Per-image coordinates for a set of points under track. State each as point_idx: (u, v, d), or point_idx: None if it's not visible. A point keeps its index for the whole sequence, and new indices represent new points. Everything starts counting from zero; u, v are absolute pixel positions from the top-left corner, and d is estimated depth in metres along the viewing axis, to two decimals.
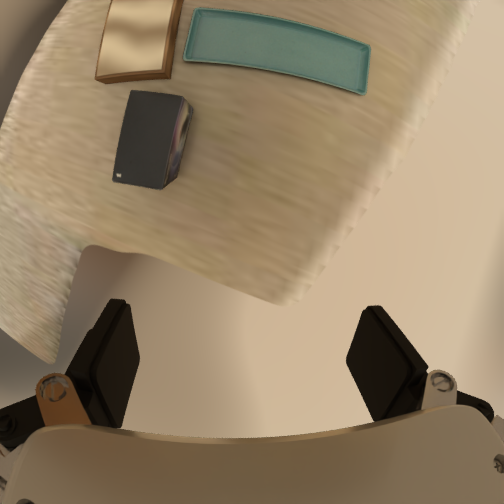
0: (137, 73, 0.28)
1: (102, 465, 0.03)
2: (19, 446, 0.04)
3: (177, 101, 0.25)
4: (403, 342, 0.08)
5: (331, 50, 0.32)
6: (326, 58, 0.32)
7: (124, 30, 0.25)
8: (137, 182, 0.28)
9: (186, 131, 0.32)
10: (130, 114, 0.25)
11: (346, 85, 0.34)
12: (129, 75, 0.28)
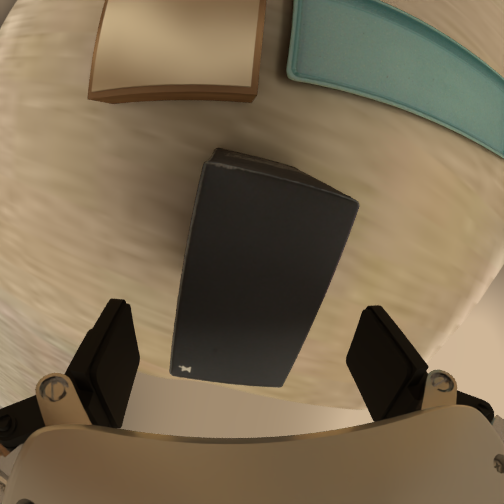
0: (189, 89, 0.13)
1: (102, 465, 0.03)
2: (19, 446, 0.04)
3: (345, 215, 0.10)
4: (403, 342, 0.08)
5: (482, 90, 0.16)
6: (478, 102, 0.17)
7: None
8: (230, 380, 0.13)
9: None
10: (209, 241, 0.10)
11: (494, 146, 0.19)
12: (169, 92, 0.13)
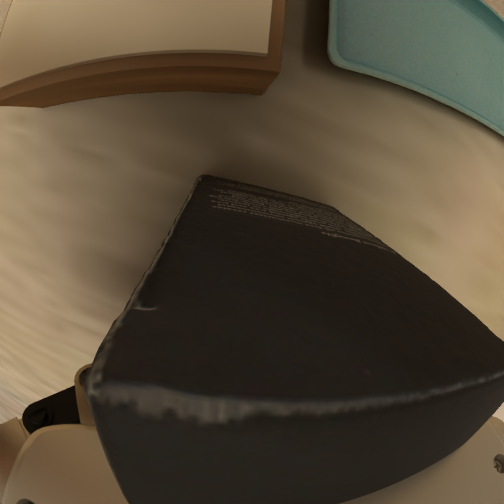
0: (140, 64, 0.06)
1: (102, 465, 0.03)
2: None
3: (501, 401, 0.03)
4: None
5: None
6: None
7: None
8: None
9: None
10: None
11: None
12: (104, 75, 0.06)
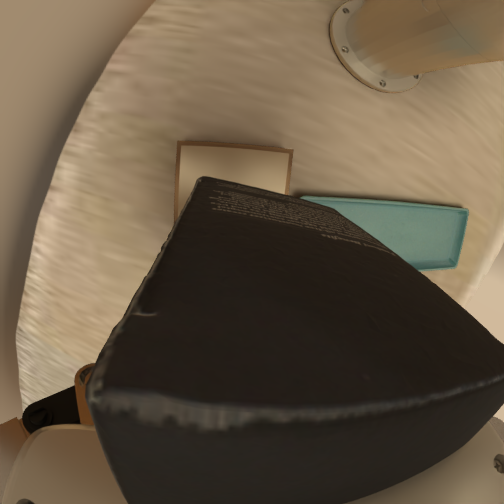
0: None
1: (102, 465, 0.03)
2: None
3: (500, 403, 0.03)
4: None
5: (434, 222, 0.32)
6: (429, 234, 0.32)
7: None
8: None
9: None
10: None
11: (441, 258, 0.34)
12: None
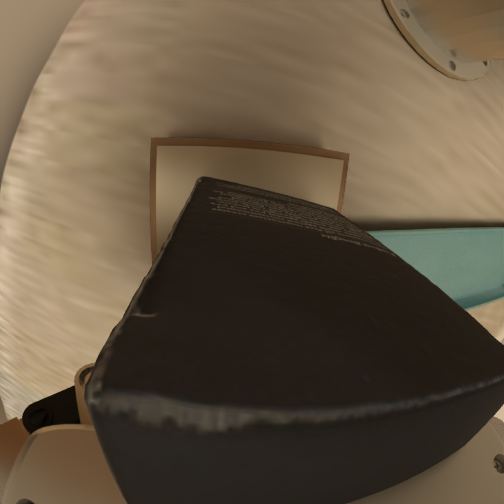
0: None
1: (102, 465, 0.03)
2: None
3: (500, 404, 0.03)
4: None
5: (494, 246, 0.21)
6: (487, 261, 0.22)
7: None
8: None
9: None
10: None
11: (495, 286, 0.24)
12: None
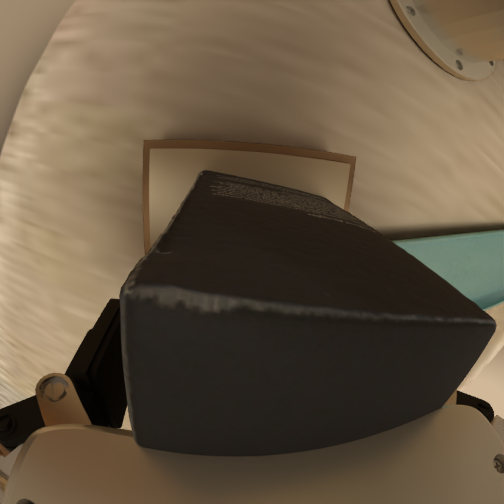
0: None
1: (102, 465, 0.03)
2: (19, 446, 0.04)
3: (474, 354, 0.04)
4: None
5: (499, 248, 0.20)
6: (493, 264, 0.21)
7: None
8: None
9: None
10: (179, 450, 0.03)
11: (500, 288, 0.23)
12: None
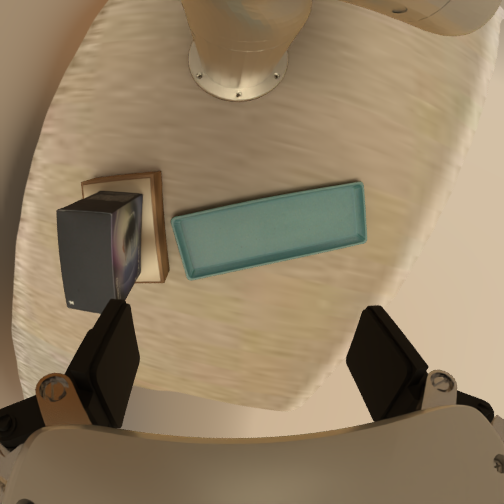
0: (138, 282, 0.35)
1: (102, 465, 0.03)
2: (19, 446, 0.04)
3: (106, 220, 0.21)
4: (403, 342, 0.08)
5: (324, 204, 0.38)
6: (321, 217, 0.38)
7: None
8: (91, 309, 0.24)
9: (136, 230, 0.29)
10: (63, 239, 0.21)
11: (346, 236, 0.39)
12: None
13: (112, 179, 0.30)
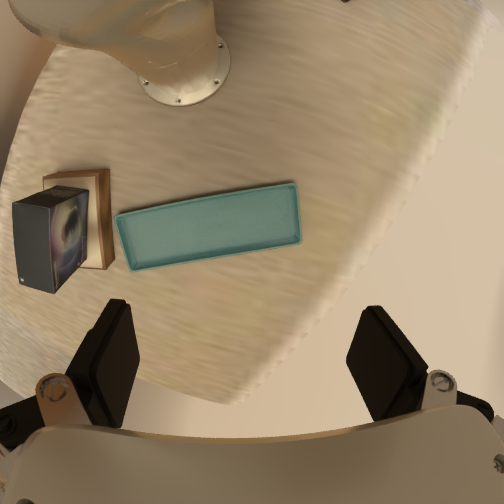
0: (85, 267, 0.36)
1: (102, 465, 0.03)
2: (19, 446, 0.04)
3: (45, 214, 0.23)
4: (403, 342, 0.08)
5: (257, 205, 0.39)
6: (254, 217, 0.40)
7: None
8: (35, 286, 0.25)
9: (79, 222, 0.30)
10: (16, 227, 0.22)
11: (281, 236, 0.41)
12: None
13: (66, 175, 0.31)
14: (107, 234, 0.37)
